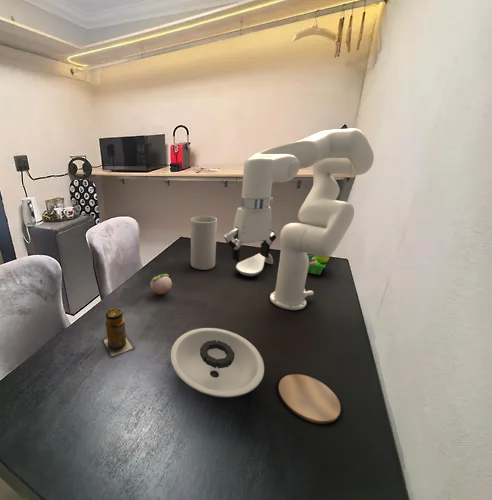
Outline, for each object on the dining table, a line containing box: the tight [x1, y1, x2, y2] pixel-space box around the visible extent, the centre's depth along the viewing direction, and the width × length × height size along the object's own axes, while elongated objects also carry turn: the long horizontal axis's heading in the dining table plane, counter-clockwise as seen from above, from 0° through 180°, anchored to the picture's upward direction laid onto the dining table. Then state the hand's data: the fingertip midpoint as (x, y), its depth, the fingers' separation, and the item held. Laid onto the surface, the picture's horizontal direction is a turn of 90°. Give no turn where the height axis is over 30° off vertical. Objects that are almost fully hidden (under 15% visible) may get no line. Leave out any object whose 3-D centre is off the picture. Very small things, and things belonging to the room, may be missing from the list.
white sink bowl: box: [170, 327, 265, 398], centre depth 72 cm, size 24×24×7 cm
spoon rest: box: [235, 252, 274, 277], centre depth 128 cm, size 24×12×7 cm, turn 127°
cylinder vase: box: [190, 215, 218, 271], centre depth 134 cm, size 12×12×25 cm
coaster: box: [277, 373, 342, 425], centre depth 65 cm, size 13×13×1 cm
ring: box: [200, 340, 234, 369], centre depth 70 cm, size 8×8×2 cm
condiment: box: [103, 308, 134, 357], centre depth 84 cm, size 7×8×12 cm
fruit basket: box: [307, 254, 331, 276], centre depth 123 cm, size 11×9×11 cm
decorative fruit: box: [150, 273, 173, 295], centre depth 112 cm, size 9×8×10 cm
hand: (249, 258), depth 81 cm, fingers open, 9 cm apart
